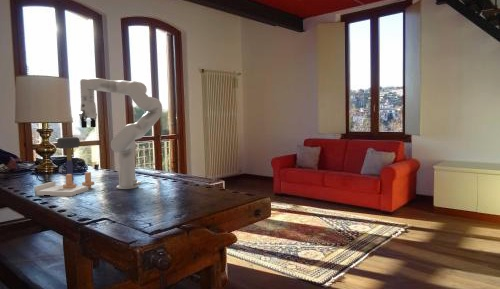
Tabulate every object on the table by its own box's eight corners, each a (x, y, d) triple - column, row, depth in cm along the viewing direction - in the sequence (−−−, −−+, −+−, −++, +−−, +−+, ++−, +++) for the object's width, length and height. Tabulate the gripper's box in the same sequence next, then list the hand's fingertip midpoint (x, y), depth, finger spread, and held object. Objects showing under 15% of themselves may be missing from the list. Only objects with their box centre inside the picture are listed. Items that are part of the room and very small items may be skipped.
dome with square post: (96, 187, 224) (96, 171, 223) (90, 189, 217) (89, 173, 216) (86, 187, 225) (85, 171, 224) (79, 189, 218) (79, 173, 217)
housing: (88, 190, 216) (87, 173, 215) (71, 196, 200) (70, 178, 199) (54, 189, 219) (53, 172, 218) (34, 195, 203) (34, 177, 202)
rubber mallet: (63, 184, 235) (61, 137, 232) (58, 182, 240) (56, 137, 237) (82, 181, 244) (80, 136, 242) (77, 180, 249) (75, 136, 247)
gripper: (85, 98, 214) (86, 127, 215) (101, 99, 231) (102, 127, 232) (73, 98, 215) (74, 127, 216) (90, 100, 232) (91, 127, 233)
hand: (88, 127), depth 224 cm, fingers open, 9 cm apart
